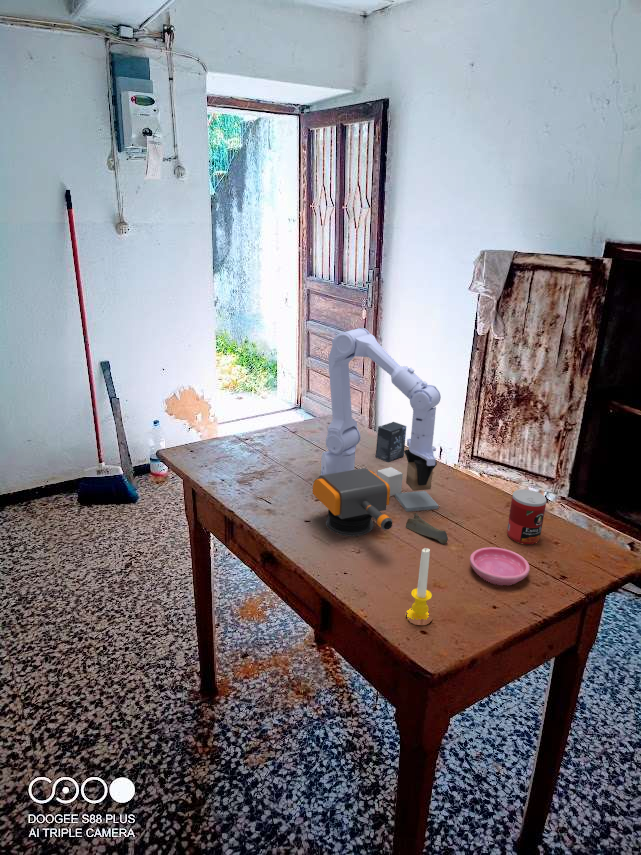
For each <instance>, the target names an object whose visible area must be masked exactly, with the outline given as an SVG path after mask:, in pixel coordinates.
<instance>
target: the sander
mask: <svg viewBox="0 0 641 855" xmlns="http://www.w3.org/2000/svg"><path fill="white" fill-rule="evenodd" d="M312 494H313V495H314V497H316V498H317V499H318V501H320V502H321V504H322V505H324V506H325V507H326V509H327V515H328V516H327V517H326V521H325V526H326V528H327V527H328V528H329V529H330V530H331V532H332V531H333V532H332V533H334V532H335V533H334V534H336V533H337V534H336V535H339V534H340V536H344V535H345V536H344V537H359V536H364V535H367V534H369V533H371V532H372V530H373V529H374V525H375V524H374V520H375V522H376V524H377V526H379V527H380V529H382V530H384V531H387V530H390V529H391V528H392V526H393V519H392V518H391V517H389V515H388V514H385V513H382V512H383V511H386V510H387V506H390V497H391V496H390V487H389V484H388V483H386V482H385V481H384V480H382V479H381V478H380V477H379V476H377V473H375V472H374V471H373V470H370V469H368V468H365V467H363V468H357V469H354V470H350V471H344V472H338V473H332V474H326V475H319V476H318V478H317V479H315V480H314V482H313V484H312ZM372 518H373V519H374V520H373V519H372ZM328 528H327V529H328ZM329 529H328V530H329ZM330 530H329V531H330Z"/></svg>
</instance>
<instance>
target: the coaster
mask: <svg viewBox="0 0 641 855" xmlns="http://www.w3.org/2000/svg"><path fill="white" fill-rule="evenodd" d="M394 497H395V499H396V500H397V502H399V504H400V506H402V508H403V509H404V510H405V512H406V513H408V512H418V511H428V510H438V509H439V504H438V503H437V502H436V501H435V500H434V499H433V498H432V496H431V495H430V494H429V493H428V492H427V491H426V490H417V491H406V492H401V493H395V495H394Z"/></svg>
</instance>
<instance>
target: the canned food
mask: <svg viewBox="0 0 641 855" xmlns="http://www.w3.org/2000/svg"><path fill="white" fill-rule="evenodd" d="M510 501H511V502H510V509H509V514H508V515H509V516H508V521H507V527H506V531H507V532H506V533H507V536H508V538H509V537H510V538H509V539H511V540H512V541H513V540H514V541H513V542H515V541H516V542H515V543H517V542H519V543H518V544H521V543H523V544H522V545H526V544H531V545H535V544H537V543H538V542H539V541H540V538H541V536H542V530H543V529H542V528H543V523H544V517H545V512H546V506H547V498H546V497H545V495H544V494H542V493H540V492H538V491H534V490H531V489H517V490H515V491H513V492H512V495H511V500H510ZM536 542H537V543H536ZM534 543H535V544H534Z"/></svg>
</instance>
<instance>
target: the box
mask: <svg viewBox="0 0 641 855" xmlns="http://www.w3.org/2000/svg"><path fill="white" fill-rule="evenodd" d="M377 427H378V428H377V435H376V436H377V437H376V448H375V449H376V450H375V458H378V459H380V460H382V461H385V462H387V463H390V462H391V461H395V460H397V459H399V458H403V457H405V453H404V451H405V449H406V448H405V447H406V437H407V436H406V435H407V428H408V427H407V425H404V424H402V423H398V422H395V421H392V422H388V423H386V424H383V425H382V424H381V425H379V426H377Z"/></svg>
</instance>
